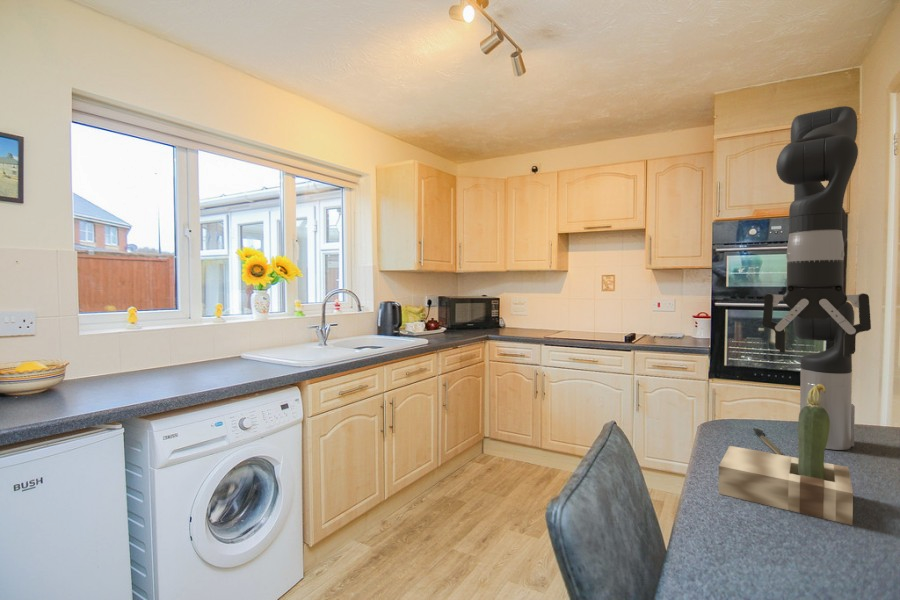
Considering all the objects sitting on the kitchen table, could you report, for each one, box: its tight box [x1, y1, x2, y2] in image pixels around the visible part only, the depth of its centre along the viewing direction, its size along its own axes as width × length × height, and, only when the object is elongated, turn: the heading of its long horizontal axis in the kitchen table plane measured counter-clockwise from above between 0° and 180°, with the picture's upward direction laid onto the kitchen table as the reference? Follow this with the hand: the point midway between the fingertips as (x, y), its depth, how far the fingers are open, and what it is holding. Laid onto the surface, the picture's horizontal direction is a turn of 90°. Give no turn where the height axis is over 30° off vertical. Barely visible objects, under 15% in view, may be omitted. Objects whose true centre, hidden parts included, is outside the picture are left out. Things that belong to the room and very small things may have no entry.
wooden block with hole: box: [718, 445, 854, 526], centre depth 82 cm, size 18×13×5 cm
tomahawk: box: [753, 427, 786, 456], centre depth 106 cm, size 21×7×1 cm, turn 159°
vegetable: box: [797, 384, 830, 480], centre depth 81 cm, size 4×4×20 cm
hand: (813, 354), depth 78 cm, fingers open, 8 cm apart
